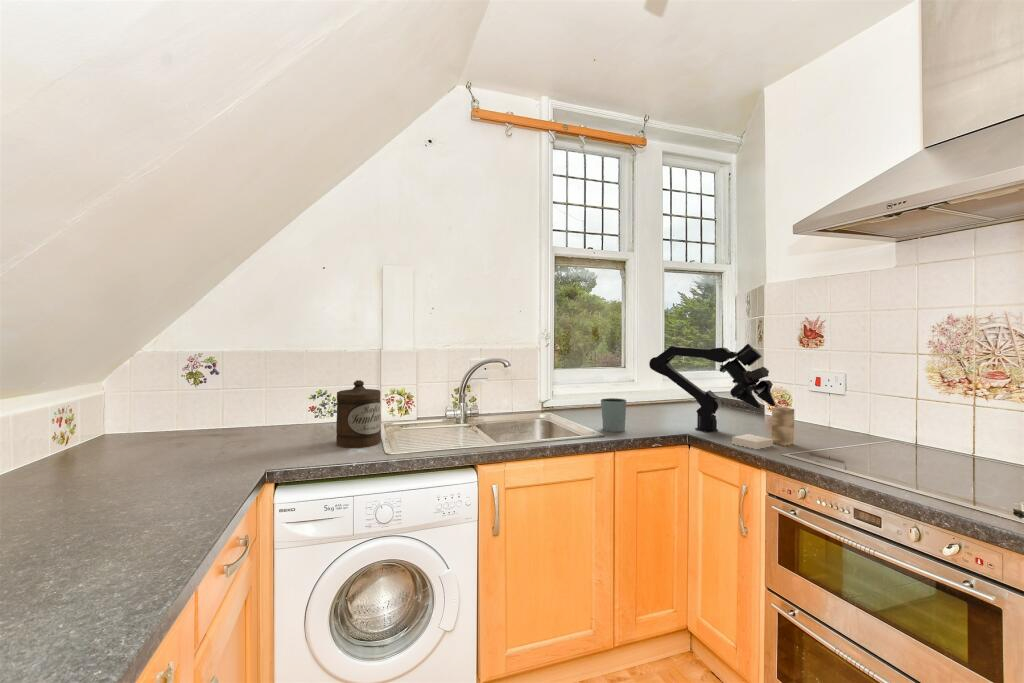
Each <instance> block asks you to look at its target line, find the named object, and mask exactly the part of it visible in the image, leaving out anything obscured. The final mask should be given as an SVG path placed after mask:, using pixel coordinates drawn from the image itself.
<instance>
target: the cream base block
mask: <svg viewBox="0 0 1024 683" xmlns="http://www.w3.org/2000/svg"><path fill="white" fill-rule="evenodd" d="M731 441H732V444H731V445H733V444H735V445H734V446H737V445H739V447H742V446H744V448H746V447H749V448H748V449H751V448H754V449H753V450H755V449H759V450H761V449H760V448H764V449H766V448H765V447H769V448H771V447H770V446H772V447H773V445H774V444H773V439H772V438H770V437H765V436H757V435H753V434H749V433H747V434H746V433H745V434H742V435H741V434H740V435H736V436H732V440H731Z"/></svg>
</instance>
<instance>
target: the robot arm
mask: <svg viewBox="0 0 1024 683" xmlns="http://www.w3.org/2000/svg"><path fill="white" fill-rule="evenodd" d="M676 356H679V357H687V358H688V357H689V358H690V357H691V358H698V359H699V358H700V359H705V360H708V361H712V362H716V363H724V364H720V365H719V366H720V367H719V372H720V373H723V374H724V373H726V372H727V374H728V375H729V376H730V377H731V378H732V383H733V384H735V385H734V386H733V388H731V389H730V395H731V397H732V398H736V399H737V400H740V401H742V402H744V403H746V404H748V405H750V406H753V407H754V408H756V409H760V408H761V405H760V403H759V402H758V400H757V399H756V397H758V398H759V399H761V401H764V402H765V403H767V404H768V405H769V406H771V407H776V403H775V400H774V398H773V396H772V393H771V390H772V387H773V386H774V383H772V382H771V381H770V380H767V379H765V380H760V379H763V378H767V377H769V372H770V371H769V369H768V368H766V367H765V366H761V367H759V368H755V369H754V370H747V369H746V368H745V367H747V366H748V367H751V366H752V365H753V364H755V363H756V362H757V361H758V360H760V359H761V358H762V357H763V356H762V354H761V353H760V352H759V351H758V350H757V349H756V348H754V347H753V346H752V345H751V344H750V343H747V344H745V345H744V346H743V348H742V349H740V350H739V351H737V352H736V351H730V350H729V348H727V347H715V348H714V347H712V348H699V347H690V346H688V347H687V346H677V345H671V346H669V347H668V348H667V349H666V350H664V351H663V352H661V353H660V354H658V355H657V356H655V357H652V358H651V359H650V360H649V368H650V369H651V370H652V371H654V372H656V373H658V374H660V375H662V376H664V377H667V378H668V379H669V380H671V381H672V382H673V383H674V384H676V385H677V386H678V387H679V388H681V389H682V390H684V391H685V392H686V393H688V394H689V395H690V396H692V397H693V398H694V399H695V400H696V401H697V403H698V404H699V406H700V407H699V408H698V409H696V414H697V420H696V421H697V424H696V426H697V427H694V430H695V429H696V431H700V432H704V431H705V432H706V433H711V432H712V433H713V432H718V431H719V429H718V427H717V422H718V420H717V415H715V414H716V413H717V411H718V410H720V409H721V407H722V400H721V399H720V398H719V395H716V394H715V393H714V392H713V391H712V390H711V389H709V390H707V391H704V390H702V388H700V387H698V386H697V385H696V384H694V383H693V382H692V381H690V379H688V378H687V377H685V376H684V375H683V374H682V373H680V372H679V371H677V370H676V369H674V367H673V365H672V364H671V363H670V362H671V361H672V360H673V359H674V358H675V357H676ZM731 359H733V360H731ZM730 360H731V361H730ZM744 366H745V367H744ZM753 393H754V394H755V395H756V397H755V396H754V395H753Z"/></svg>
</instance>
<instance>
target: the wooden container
mask: <svg viewBox="0 0 1024 683" xmlns="http://www.w3.org/2000/svg"><path fill="white" fill-rule="evenodd" d="M364 384H365V383H364V381H363V380H361V379H359V380H355V381H354V382H353V386H354V387H353V388H351V389H344V390H339V391H337V392H336V427H335V428H336V441H335V442H336V445H337V446H338V447H341V448H347V449H356V448H357V449H359V448H367V447H372V446H376V445H378V444H380V443H381V442H382V441H381V440H382V413H381V412H382V411H381V410H382V409H381V408H382V405H381V390H379V389H375V388H374V389H373V388H366V387H365V386H364Z"/></svg>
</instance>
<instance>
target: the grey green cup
mask: <svg viewBox="0 0 1024 683" xmlns="http://www.w3.org/2000/svg"><path fill="white" fill-rule="evenodd" d="M600 405H601V406H600V407H601V419H602V430H603V431H606V432H612V433H614V432H615V433H621V431H622V432H624V431H626V413H627V412H626V410H627V399H625V398H617V397H616V398H614V397H612V398H611V397H609V398H608V397H607V398H601V399H600Z"/></svg>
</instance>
